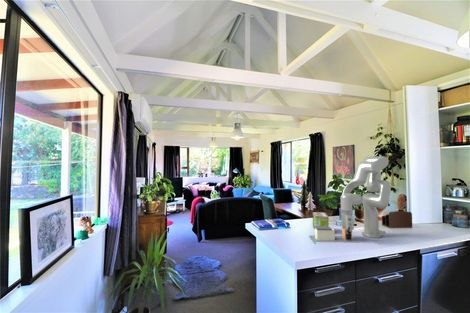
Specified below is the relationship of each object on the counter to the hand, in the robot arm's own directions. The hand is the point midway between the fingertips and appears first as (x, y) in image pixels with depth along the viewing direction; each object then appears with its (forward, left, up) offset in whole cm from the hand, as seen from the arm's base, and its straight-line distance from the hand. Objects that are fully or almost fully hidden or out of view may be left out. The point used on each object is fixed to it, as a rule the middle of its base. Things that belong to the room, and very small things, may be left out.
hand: (347, 238), depth 161 cm
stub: (0, 0, -1) cm, 1 cm away
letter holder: (-59, -39, -2) cm, 71 cm away
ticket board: (+10, 0, -2) cm, 10 cm away
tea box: (+13, -19, -2) cm, 23 cm away
